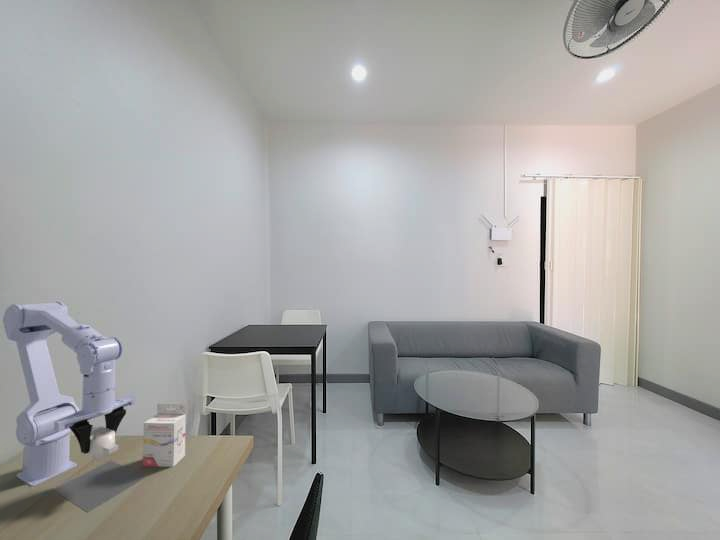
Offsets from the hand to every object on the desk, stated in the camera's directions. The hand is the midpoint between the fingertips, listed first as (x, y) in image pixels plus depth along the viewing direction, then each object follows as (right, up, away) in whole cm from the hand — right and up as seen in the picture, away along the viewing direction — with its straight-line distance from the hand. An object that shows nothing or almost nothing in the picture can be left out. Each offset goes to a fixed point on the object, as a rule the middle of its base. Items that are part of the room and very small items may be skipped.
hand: (97, 446), depth 65 cm
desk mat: (+1, -9, 0) cm, 9 cm away
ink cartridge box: (+11, -9, +7) cm, 16 cm away
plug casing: (+1, -1, -1) cm, 2 cm away
